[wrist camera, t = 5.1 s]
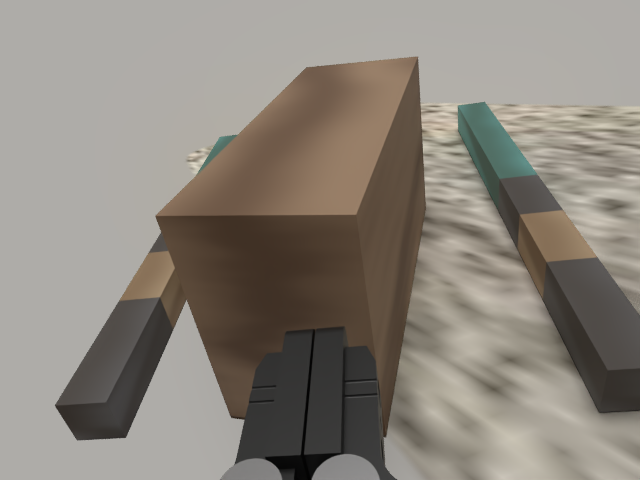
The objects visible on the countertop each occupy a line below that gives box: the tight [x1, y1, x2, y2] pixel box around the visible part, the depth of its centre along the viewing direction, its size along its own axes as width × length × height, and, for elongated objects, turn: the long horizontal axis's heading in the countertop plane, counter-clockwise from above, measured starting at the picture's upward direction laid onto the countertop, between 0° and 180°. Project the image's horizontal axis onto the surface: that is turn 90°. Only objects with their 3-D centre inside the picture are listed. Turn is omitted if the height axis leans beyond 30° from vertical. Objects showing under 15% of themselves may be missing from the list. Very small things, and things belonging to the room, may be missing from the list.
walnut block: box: [156, 57, 426, 438], centre depth 23 cm, size 6×16×9 cm, turn 165°
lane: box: [55, 102, 640, 440], centre depth 29 cm, size 21×27×2 cm
